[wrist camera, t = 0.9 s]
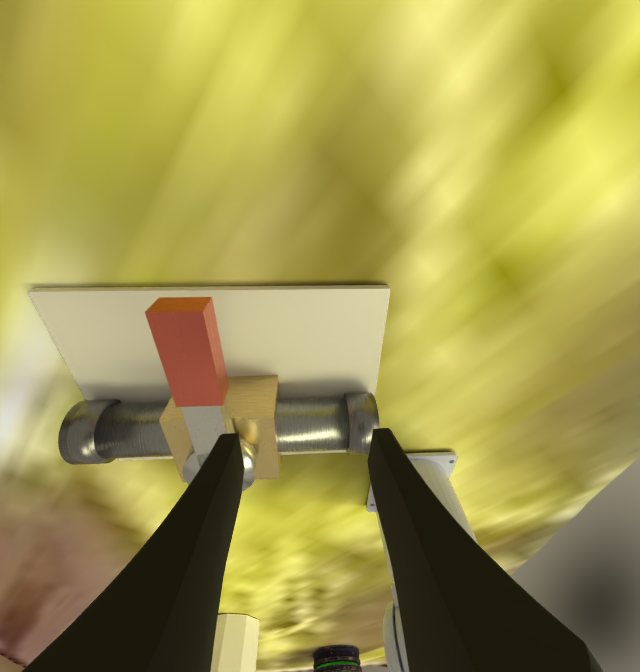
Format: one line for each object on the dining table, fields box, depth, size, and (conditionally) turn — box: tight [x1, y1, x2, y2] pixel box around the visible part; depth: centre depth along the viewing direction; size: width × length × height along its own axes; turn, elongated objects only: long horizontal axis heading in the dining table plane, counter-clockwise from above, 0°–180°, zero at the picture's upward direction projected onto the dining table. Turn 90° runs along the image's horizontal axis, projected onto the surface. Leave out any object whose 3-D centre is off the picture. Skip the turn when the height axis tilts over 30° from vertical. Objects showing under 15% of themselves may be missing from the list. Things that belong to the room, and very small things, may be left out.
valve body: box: [58, 375, 379, 482], centre depth 22 cm, size 6×21×5 cm, turn 89°
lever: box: [145, 297, 257, 491], centre depth 17 cm, size 14×4×2 cm, turn 179°
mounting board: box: [27, 285, 390, 461], centre depth 23 cm, size 16×22×1 cm
